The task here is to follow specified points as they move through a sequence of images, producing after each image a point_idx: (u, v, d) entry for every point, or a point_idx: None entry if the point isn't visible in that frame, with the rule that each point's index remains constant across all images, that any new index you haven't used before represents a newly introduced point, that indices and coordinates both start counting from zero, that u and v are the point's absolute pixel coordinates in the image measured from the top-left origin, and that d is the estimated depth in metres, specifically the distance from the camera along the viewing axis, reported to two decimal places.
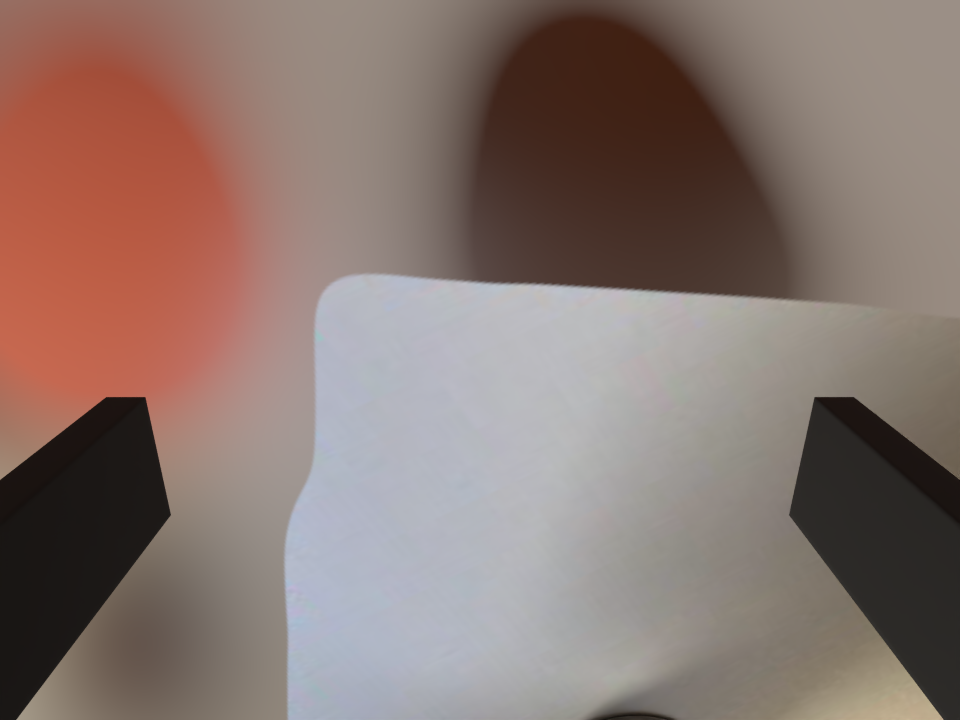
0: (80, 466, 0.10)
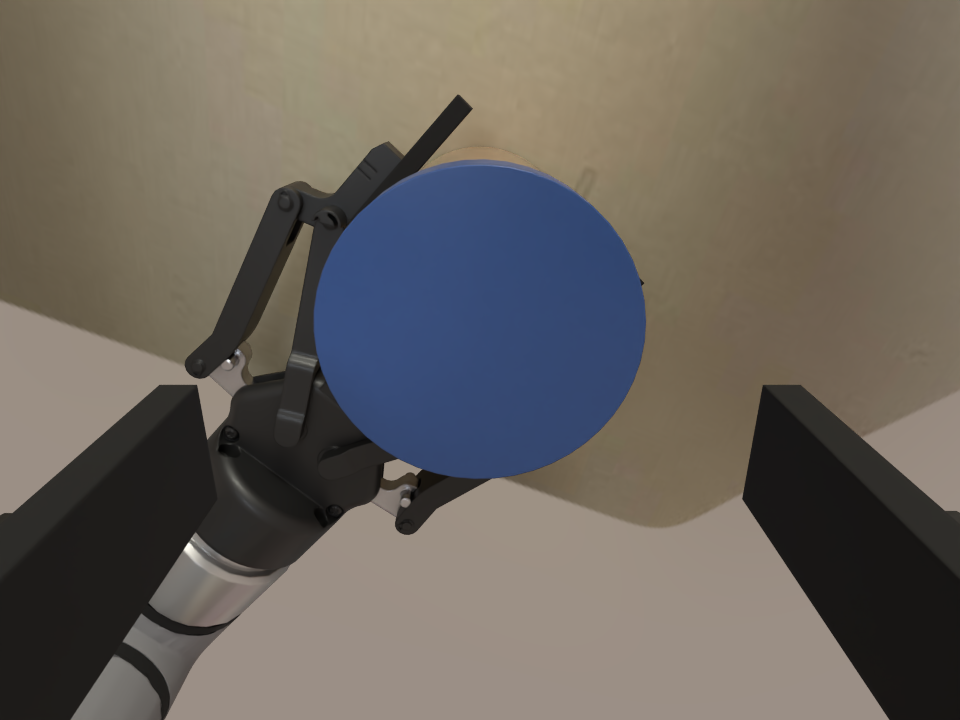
0: (145, 448, 0.11)
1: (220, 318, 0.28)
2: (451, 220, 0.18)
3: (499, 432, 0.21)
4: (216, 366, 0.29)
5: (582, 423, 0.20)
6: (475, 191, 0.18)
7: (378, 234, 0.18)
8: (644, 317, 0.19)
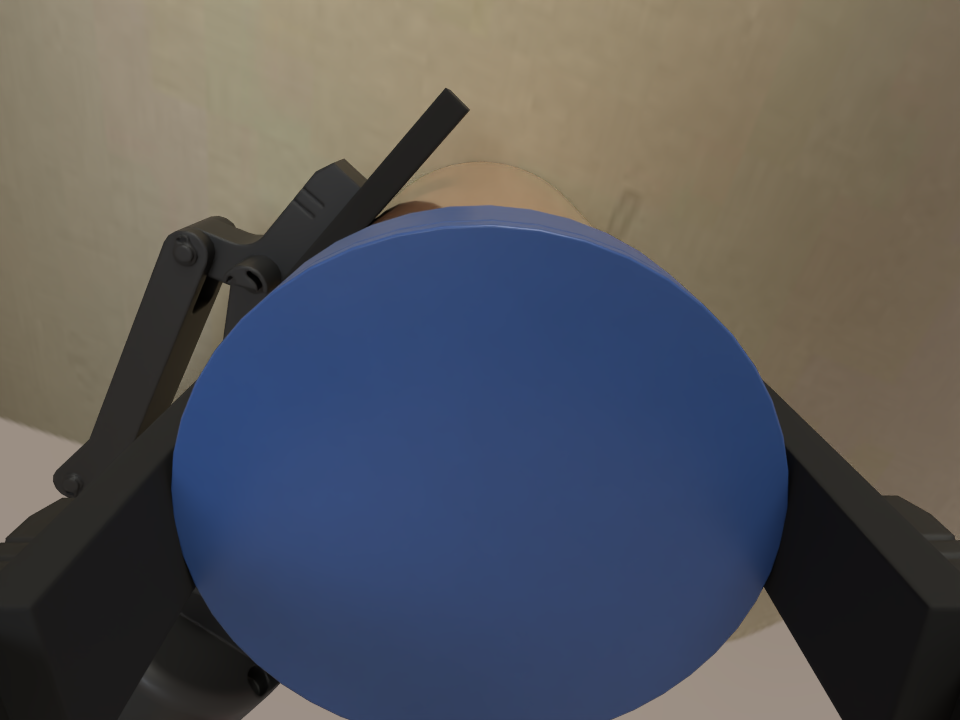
0: None
1: (99, 417, 0.19)
2: (424, 330, 0.09)
3: (514, 678, 0.12)
4: None
5: (660, 665, 0.12)
6: (471, 276, 0.09)
7: (282, 355, 0.09)
8: (786, 499, 0.10)
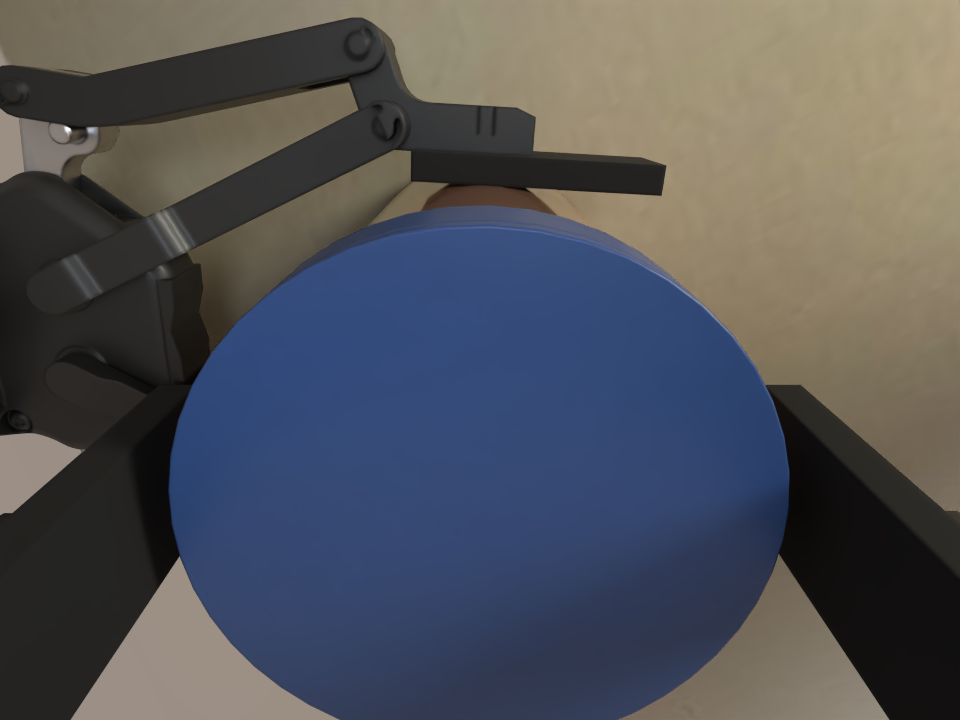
0: (145, 447, 0.11)
1: (115, 72, 0.16)
2: (295, 407, 0.10)
3: (620, 636, 0.11)
4: (42, 118, 0.16)
5: (744, 549, 0.11)
6: (290, 342, 0.09)
7: (216, 496, 0.10)
8: (725, 331, 0.09)
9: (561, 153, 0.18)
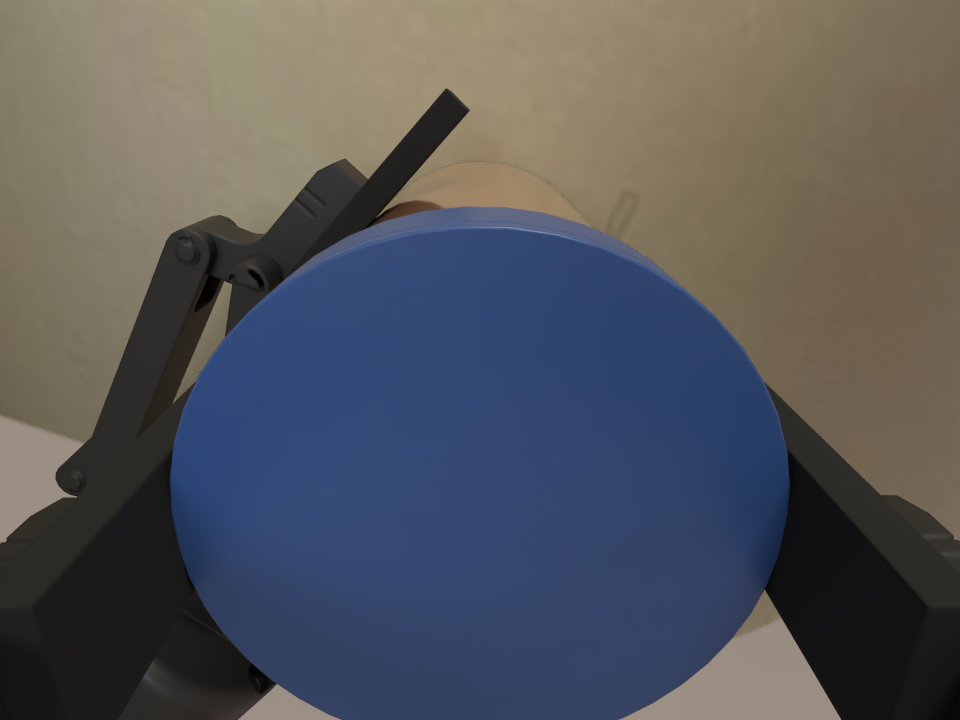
0: None
1: (101, 415, 0.19)
2: (269, 564, 0.11)
3: (683, 508, 0.10)
4: None
5: (691, 355, 0.09)
6: (217, 529, 0.10)
7: (299, 659, 0.12)
8: (450, 230, 0.09)
9: None
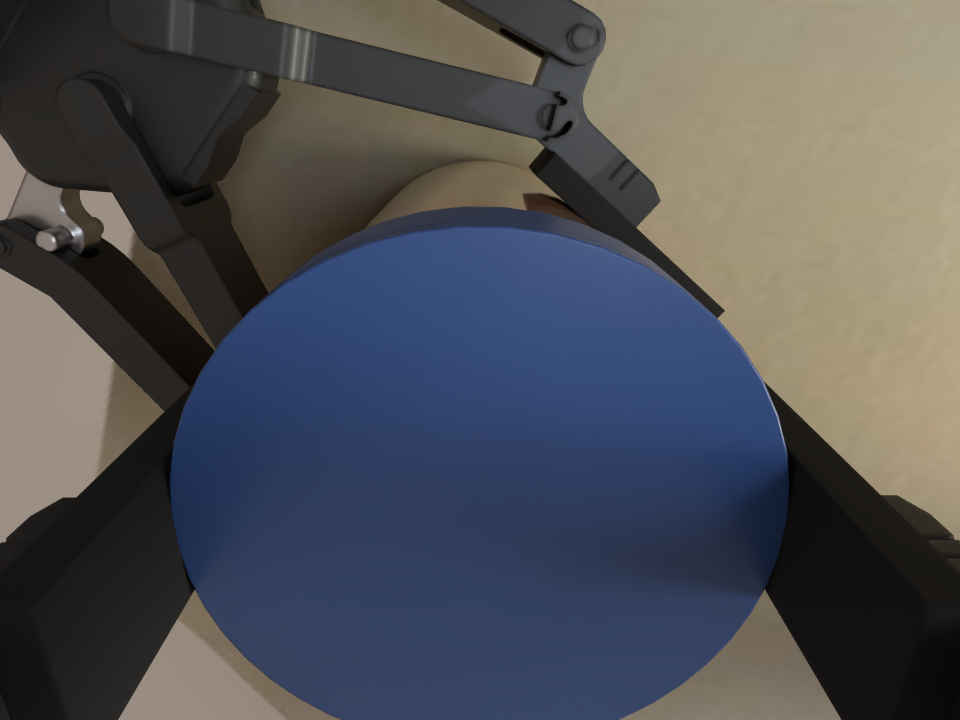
0: None
1: None
2: (269, 564, 0.11)
3: (683, 508, 0.10)
4: None
5: (691, 355, 0.09)
6: (216, 529, 0.10)
7: (299, 660, 0.12)
8: (450, 230, 0.09)
9: None
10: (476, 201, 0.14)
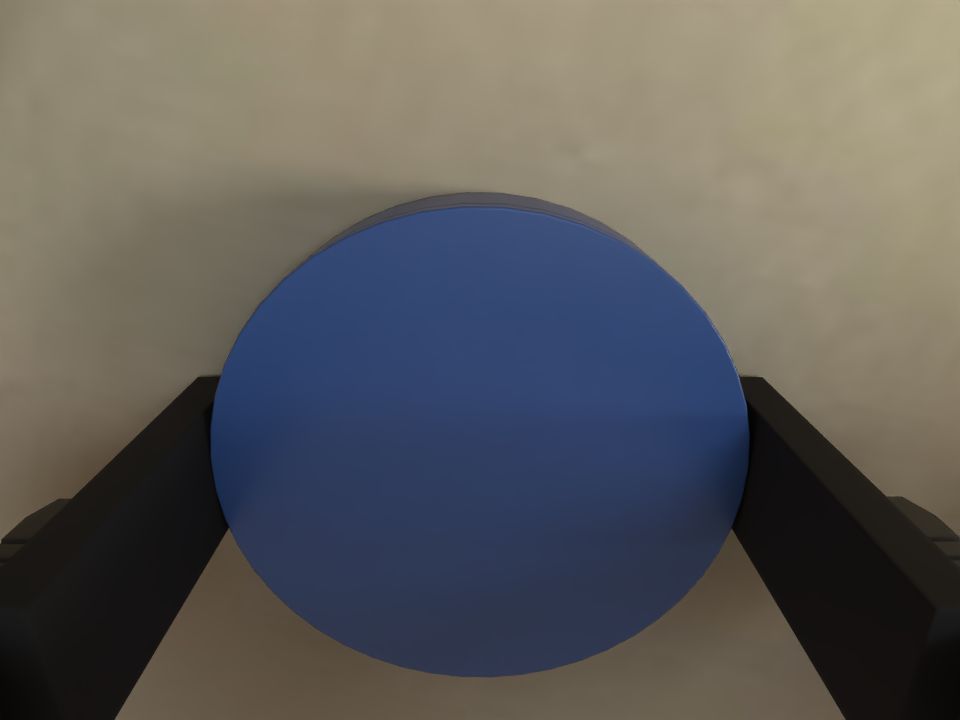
0: (190, 437, 0.11)
1: None
2: (295, 506, 0.12)
3: (657, 456, 0.12)
4: None
5: (661, 319, 0.11)
6: (250, 474, 0.12)
7: (319, 593, 0.13)
8: (454, 210, 0.10)
9: None
10: None
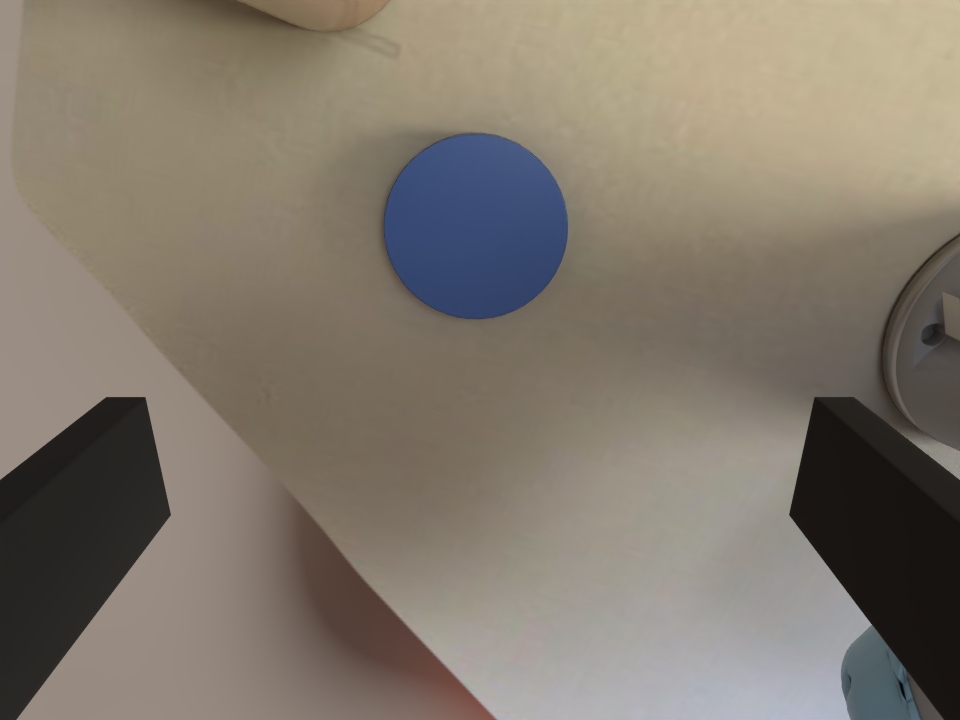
0: (81, 466, 0.10)
1: None
2: (411, 243, 0.35)
3: (536, 222, 0.35)
4: None
5: (534, 171, 0.34)
6: (397, 230, 0.35)
7: (418, 280, 0.36)
8: (468, 135, 0.33)
9: None
10: None
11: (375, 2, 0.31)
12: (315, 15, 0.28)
